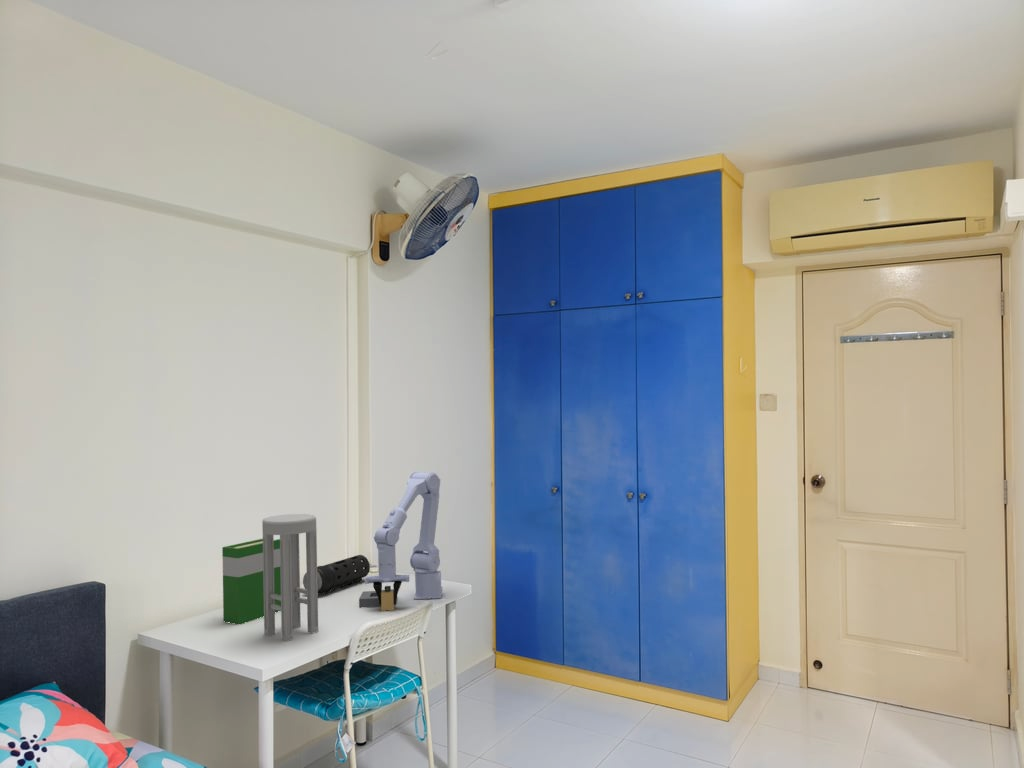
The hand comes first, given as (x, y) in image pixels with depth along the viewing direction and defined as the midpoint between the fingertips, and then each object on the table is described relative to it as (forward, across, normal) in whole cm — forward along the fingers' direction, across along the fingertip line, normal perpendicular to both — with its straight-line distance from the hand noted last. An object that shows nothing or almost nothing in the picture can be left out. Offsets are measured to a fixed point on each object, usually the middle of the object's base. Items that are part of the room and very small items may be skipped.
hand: (388, 604), depth 246 cm
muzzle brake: (+2, -22, +32) cm, 39 cm away
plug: (+2, 0, 0) cm, 2 cm away
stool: (+2, -27, -22) cm, 35 cm away
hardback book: (+2, -44, -1) cm, 44 cm away
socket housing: (+2, -4, +8) cm, 9 cm away
